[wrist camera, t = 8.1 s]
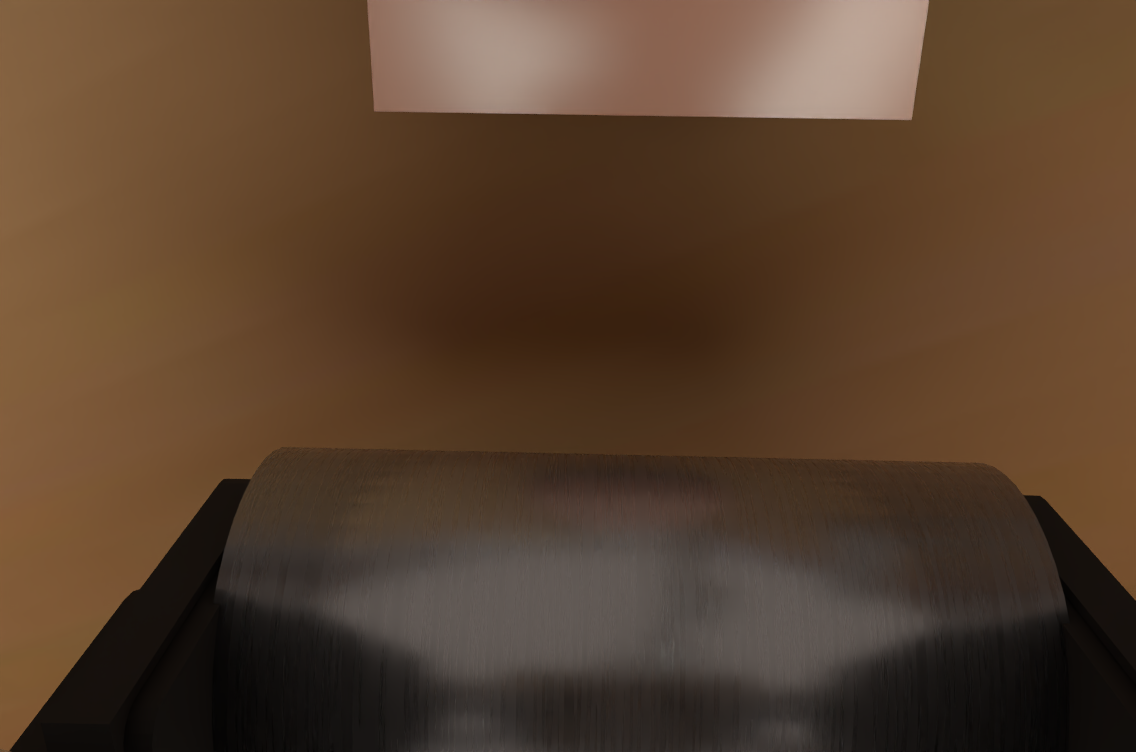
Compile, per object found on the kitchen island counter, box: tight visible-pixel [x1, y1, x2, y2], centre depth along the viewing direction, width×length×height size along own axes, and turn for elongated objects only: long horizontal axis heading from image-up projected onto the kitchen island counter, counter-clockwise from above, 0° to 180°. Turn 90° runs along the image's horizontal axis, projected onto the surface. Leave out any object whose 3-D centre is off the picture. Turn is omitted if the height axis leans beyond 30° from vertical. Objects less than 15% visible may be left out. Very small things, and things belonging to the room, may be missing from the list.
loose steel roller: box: [212, 447, 1070, 752], centre depth 10 cm, size 4×8×4 cm, turn 89°
